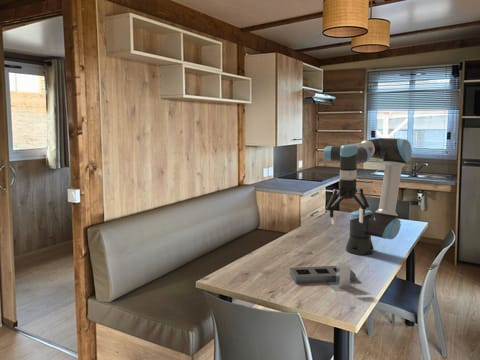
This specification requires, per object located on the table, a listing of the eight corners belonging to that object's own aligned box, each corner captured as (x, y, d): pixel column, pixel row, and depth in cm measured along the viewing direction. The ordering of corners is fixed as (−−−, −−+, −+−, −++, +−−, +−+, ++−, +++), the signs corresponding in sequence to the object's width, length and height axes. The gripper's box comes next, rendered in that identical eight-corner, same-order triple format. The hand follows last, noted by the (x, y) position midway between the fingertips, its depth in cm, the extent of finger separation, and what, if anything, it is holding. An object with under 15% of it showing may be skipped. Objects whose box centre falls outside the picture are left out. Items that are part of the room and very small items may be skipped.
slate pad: (349, 283, 189) (349, 281, 189) (357, 292, 180) (357, 290, 179) (327, 284, 188) (328, 282, 188) (335, 293, 178) (335, 291, 178)
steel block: (345, 283, 186) (346, 262, 185) (349, 287, 182) (350, 266, 180) (335, 284, 186) (336, 262, 184) (339, 288, 181) (340, 266, 180)
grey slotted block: (345, 273, 202) (346, 265, 201) (355, 282, 190) (355, 274, 189) (289, 275, 198) (289, 267, 198) (295, 285, 187) (295, 277, 186)
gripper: (324, 181, 186) (324, 227, 189) (377, 178, 189) (375, 223, 193) (319, 178, 193) (318, 222, 197) (370, 176, 196) (368, 219, 200)
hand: (347, 223), depth 195 cm, fingers open, 13 cm apart
